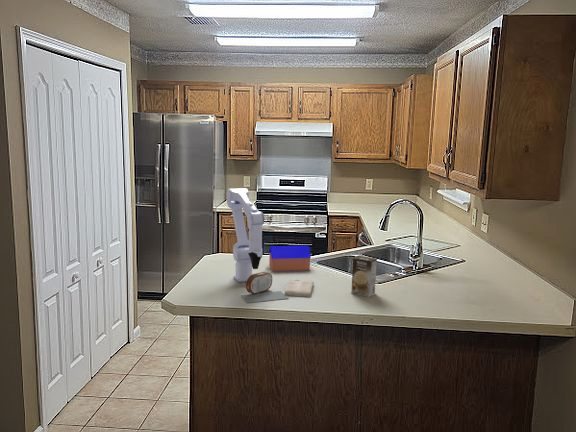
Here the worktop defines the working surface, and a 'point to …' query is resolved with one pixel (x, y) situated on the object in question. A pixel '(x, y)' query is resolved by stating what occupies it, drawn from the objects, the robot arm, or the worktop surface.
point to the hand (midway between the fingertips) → (255, 268)
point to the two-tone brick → (289, 258)
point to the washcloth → (299, 288)
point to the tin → (259, 282)
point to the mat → (264, 297)
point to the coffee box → (364, 276)
